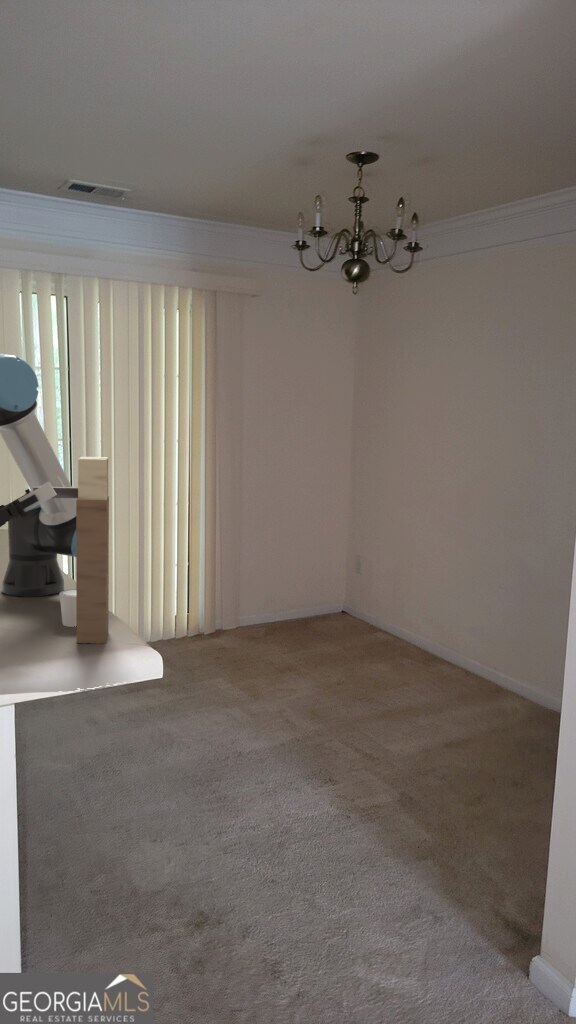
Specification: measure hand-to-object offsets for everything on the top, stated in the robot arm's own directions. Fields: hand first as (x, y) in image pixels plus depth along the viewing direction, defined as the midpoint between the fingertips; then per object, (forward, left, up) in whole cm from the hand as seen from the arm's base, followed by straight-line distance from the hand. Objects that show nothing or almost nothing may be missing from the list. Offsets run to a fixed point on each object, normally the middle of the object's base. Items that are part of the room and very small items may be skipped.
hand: (57, 485), depth 153 cm
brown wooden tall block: (0, +7, -31) cm, 32 cm away
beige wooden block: (0, +3, -2) cm, 4 cm away
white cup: (-11, +2, -32) cm, 34 cm away
